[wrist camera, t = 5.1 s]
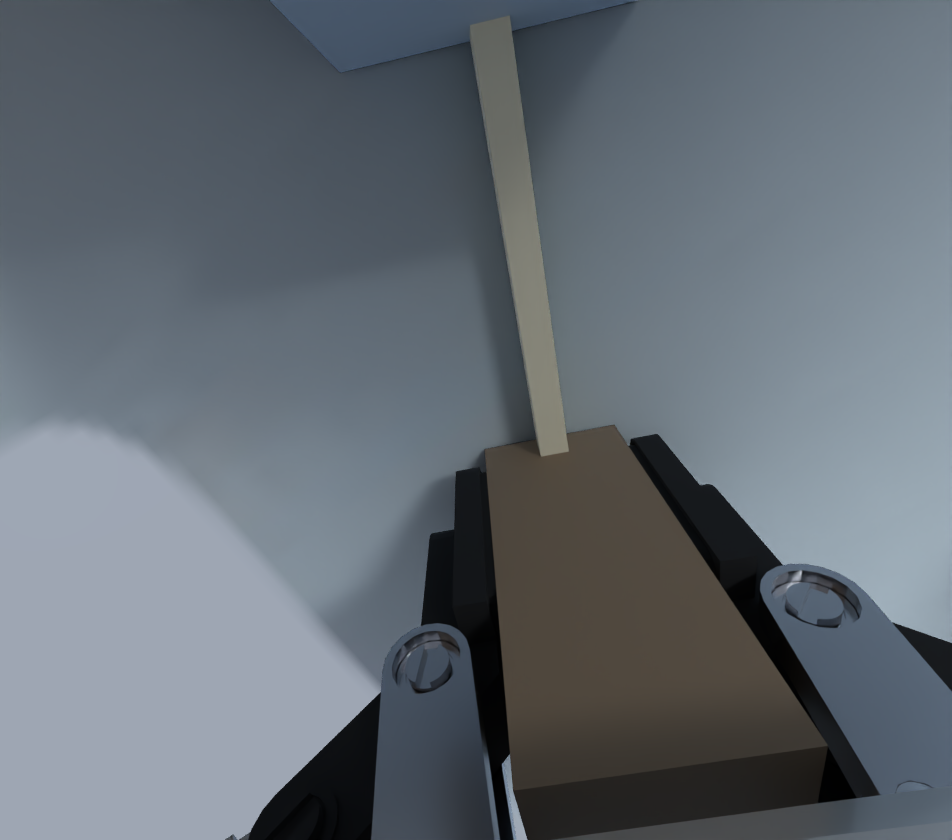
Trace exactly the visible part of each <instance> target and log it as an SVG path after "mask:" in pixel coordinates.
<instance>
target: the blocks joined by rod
mask: <svg viewBox="0 0 952 840" xmlns="http://www.w3.org/2000/svg"><path fill="white" fill-rule="evenodd" d="M270 1H271V3H272V4H273V5H274V6H275V7H276V8H277V9H278V10H279V11H280V12H281V13H282V14H283V15H284V16H285V17H286V18H287V19H288V20H289V21H290V22H291V23H292V24H293V25H294V26H295V27H296V28H297V29H298V30H299V31H300V32H301V33H302V34H303V35H304V36H305V37H306V38H307V39H308V40H309V41H310V42H311V43H312V44H313V45H314V46H315V48H316V49H317V50H318V51H319V52H320V53H321V54H322V55H323V56H324V57H325V58H326V59H327V60H328V61H329V62H330V63H331V64H332V65H333V66H334V67H335V68H336V69H337V70H338V71H339V72H340V73H342V72H346V71H350V70H354V69H358V68H362V67H366V66H370V65H374V64H379V63H383V62H387V61H391V60H395V59H399V58H403V57H407V56H411V55H415V54H420V53H424V52H428V51H432V50H436V49H440V48H444V47H448V46H452V45H456V44H461V43H465V42H469V41H470V43H471V49H472V55H473V61H474V67H475V73H476V79H477V85H478V91H479V97H480V103H481V109H482V115H483V121H484V127H485V133H486V139H487V145H488V151H489V157H490V163H491V169H492V175H493V181H494V187H495V193H496V199H497V205H498V211H499V217H500V223H501V230H502V236H503V242H504V248H505V254H506V260H507V266H508V272H509V278H510V284H511V290H512V296H513V302H514V308H515V314H516V320H517V326H518V332H519V338H520V344H521V350H522V356H523V362H524V368H525V374H526V380H527V386H528V392H529V398H530V404H531V410H532V416H533V422H534V428H535V434H536V440H531V441H525V442H520V443H515V444H510V445H504V446H499V447H494V448H488V449H485V460H486V472H487V484H488V495H489V507H490V519H491V531H492V543H493V555H494V567H495V579H496V591H497V603H498V615H499V627H500V639H501V651H502V663H503V675H504V687H505V699H506V711H507V723H508V735H509V747H510V759H511V771H512V783H513V792H514V795H515V799H516V802H517V805H518V809H519V812H520V816H521V819H522V822H523V826H524V829H525V833H526V836H527V839H528V840H554V839H561V838H568V837H575V836H582V835H589V834H596V833H604V832H611V831H618V830H626V829H633V828H640V827H648V826H655V825H662V824H669V823H677V822H684V821H691V820H699V819H706V818H713V817H721V816H728V815H736V814H743V813H751V812H758V811H765V810H773V809H780V808H788V807H795V806H802V805H810V804H817V803H818V798H819V793H820V787H821V782H822V776H823V771H824V766H825V760H826V755H827V749H828V745H827V743H826V742H825V740H824V739H823V737H822V736H821V734H820V733H819V731H818V730H817V728H816V727H815V725H814V724H813V722H812V721H811V719H810V718H809V716H808V715H807V713H806V712H805V710H804V709H803V707H802V706H801V704H800V703H799V701H798V700H797V698H796V697H795V695H794V694H793V692H792V691H791V689H790V688H789V686H788V685H787V683H786V682H785V680H784V679H783V677H782V676H781V674H780V673H779V671H778V670H777V668H776V667H775V665H774V664H773V662H772V661H771V659H770V658H769V656H768V655H767V653H766V652H765V650H764V649H763V647H762V646H761V644H760V643H759V641H758V640H757V638H756V637H755V635H754V634H753V632H752V631H751V629H750V628H749V626H748V625H747V623H746V622H745V620H744V619H743V617H742V616H741V614H740V613H739V611H738V610H737V608H736V607H735V605H734V604H733V602H732V601H731V599H730V598H729V596H728V595H727V593H726V592H725V590H724V589H723V587H722V586H721V584H720V583H719V581H718V580H717V578H716V577H715V575H714V574H713V572H712V571H711V569H710V568H709V566H708V565H707V563H706V562H705V560H704V559H703V557H702V556H701V554H700V553H699V551H698V550H697V548H696V547H695V545H694V544H693V542H692V541H691V539H690V538H689V536H688V535H687V533H686V532H685V530H684V529H683V527H682V526H681V524H680V523H679V521H678V520H677V518H676V517H675V515H674V514H673V512H672V511H671V509H670V508H669V506H668V505H667V503H666V502H665V500H664V499H663V497H662V496H661V494H660V493H659V491H658V490H657V488H656V487H655V485H654V484H653V482H652V481H651V479H650V478H649V476H648V475H647V473H646V472H645V470H644V469H643V467H642V466H641V464H640V463H639V461H638V460H637V458H636V457H635V455H634V454H633V452H632V451H631V449H630V448H629V446H628V445H627V443H626V442H625V440H624V439H623V437H622V436H621V434H620V433H619V431H618V430H617V428H616V427H615V425H610V426H605V427H600V428H594V429H589V430H584V431H578V432H573V433H568V434H566V427H565V420H564V412H563V405H562V397H561V390H560V383H559V375H558V368H557V361H556V353H555V346H554V338H553V331H552V324H551V316H550V309H549V301H548V294H547V287H546V279H545V272H544V265H543V257H542V250H541V242H540V235H539V228H538V220H537V213H536V205H535V198H534V191H533V183H532V176H531V169H530V161H529V154H528V146H527V139H526V132H525V124H524V117H523V109H522V102H521V95H520V87H519V80H518V73H517V65H516V58H515V50H514V43H513V36H512V31H514V30H518V29H522V28H526V27H530V26H534V25H538V24H543V23H547V22H551V21H555V20H559V19H563V18H567V17H571V16H575V15H579V14H583V13H588V12H592V11H596V10H600V9H604V8H608V7H612V6H616V5H620V4H624V3H629V2H633V1H637V0H270Z"/></svg>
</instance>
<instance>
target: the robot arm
mask: <svg viewBox="0 0 952 840" xmlns="http://www.w3.org/2000/svg"><path fill="white" fill-rule="evenodd" d="M629 448H630V449H631V451H632V452H633V454H634V455H635V457H636V458H637V460H638V461H639V463H640V464H641V466H642V467H643V469H644V470H645V472H646V473H647V475H648V476H649V478H650V479H651V481H652V482H653V484H654V485H655V487H656V488H657V490H658V491H659V493H660V494H661V496H662V497H663V499H664V500H665V502H666V503H667V505H668V506H669V508H670V509H671V511H672V512H673V514H674V515H675V517H676V518H677V520H678V521H679V523H680V524H681V526H682V527H683V529H684V530H685V532H686V533H687V535H688V536H689V538H690V539H691V541H692V542H693V544H694V545H695V547H696V548H697V550H698V551H699V553H700V554H701V556H702V557H703V559H704V560H705V562H706V563H707V565H708V566H709V568H710V569H711V571H712V572H713V574H714V575H715V577H716V578H717V580H718V581H719V583H720V584H721V586H722V587H723V589H724V590H725V592H726V593H727V595H728V596H729V598H730V599H731V601H732V602H733V604H734V605H735V607H736V608H737V610H738V611H739V613H740V614H741V616H742V617H743V619H744V620H745V622H746V623H747V625H748V626H749V628H750V629H751V631H752V632H753V634H754V635H755V637H756V638H757V640H758V641H759V643H760V644H761V646H762V647H763V649H764V650H765V652H766V653H767V655H768V656H769V658H770V659H771V661H772V662H773V664H774V665H775V667H776V668H777V670H778V671H779V673H780V674H781V676H782V677H783V679H784V680H785V682H786V683H787V685H788V686H789V688H790V689H791V691H792V692H793V694H794V695H795V697H796V698H797V700H798V701H799V703H800V704H801V706H802V707H803V709H804V710H805V712H806V713H807V715H808V716H809V718H810V719H811V721H812V722H813V724H814V725H815V727H816V728H817V730H818V731H819V733H820V734H821V736H822V737H823V739H824V740H825V742H826V743H827V745H828V749H827V755H826V760H825V766H824V771H823V776H822V782H821V787H820V793H819V798H818V803H817V804H810V805H802V806H795V807H788V808H780V809H773V810H765V811H758V812H751V813H743V814H736V815H728V816H721V817H713V818H706V819H699V820H691V821H684V822H677V823H669V824H662V825H655V826H648V827H640V828H633V829H626V830H618V831H611V832H604V833H596V834H589V835H582V836H575V837H568V838H561V839H554V840H952V643H950V642H947V641H944V640H941V639H938V638H935V637H932V636H930V635H927V634H924V633H921V632H918V631H915V630H912V629H910V628H907V627H904V626H901V625H898V624H895V623H892V622H891V621H890V620H889V618H888V617H887V616H886V615H885V614H884V613H883V612H882V610H881V609H880V608H879V607H878V606H877V605H876V603H875V602H874V601H873V600H872V599H871V598H870V597H869V595H868V594H867V593H866V592H865V591H864V590H863V589H861V588H860V587H859V586H858V585H857V584H856V583H855V582H853V581H851V580H850V579H848V578H846V577H845V576H843V575H841V574H839V573H837V572H834V571H831V570H829V569H826V568H823V567H819V566H814V565H808V564H787V565H782V564H781V562H780V561H779V560H778V559H777V558H776V557H775V556H774V554H773V553H772V552H771V551H770V550H769V549H768V547H767V546H766V545H765V544H764V543H763V542H762V541H761V539H760V538H759V537H758V536H757V535H756V534H755V533H754V531H753V530H752V529H751V528H750V527H749V526H748V524H747V523H746V522H745V521H744V520H743V519H742V518H741V516H740V515H739V514H738V513H737V512H736V511H735V509H734V508H733V507H732V506H731V505H730V504H729V503H728V501H727V500H726V499H725V498H724V497H723V496H722V495H721V493H720V492H719V491H718V490H717V489H716V488H715V487H714V486H713V485H710V484H706V485H699V484H698V482H697V481H696V480H695V479H694V478H693V476H692V475H691V474H690V473H689V471H688V470H687V469H686V468H685V467H684V465H683V464H682V463H681V462H680V461H679V459H678V458H677V457H676V456H675V454H674V453H673V452H672V451H671V450H670V448H669V447H668V446H667V445H666V443H665V442H664V441H663V440H662V439H661V437H660V436H659V435H658V434H654V435H649V436H643V437H638V438H633V439H631V441H630V446H629ZM509 754H510V747H509V735H508V723H507V711H506V699H505V687H504V675H503V663H502V651H501V639H500V627H499V615H498V603H497V591H496V579H495V567H494V555H493V543H492V531H491V519H490V507H489V495H488V484H487V472H485V473H481V470H480V467H477V468H472V469H467V470H461V471H457V472H456V484H455V521H454V530H449V531H443V532H438V533H432V534H431V535H430V540H429V550H428V561H427V571H426V581H425V591H424V601H423V612H422V622H421V626H420V627H418V628H415V629H413V630H411V631H410V632H408V633H407V634H405V635H404V636H402V637H401V638H400V639H399V640H398V641H397V642H396V643H395V644H394V645H393V646H392V648H391V649H390V651H389V653H388V655H387V657H386V658H385V662H384V666H383V671H382V684H381V693H380V694H378V695H377V696H376V697H375V698H374V699H373V700H372V701H371V702H370V703H369V704H368V705H367V706H366V707H365V708H364V709H363V710H362V711H361V712H360V713H359V714H358V715H357V716H356V717H355V718H354V719H353V720H352V721H351V722H350V723H349V724H348V725H347V726H346V727H345V728H344V729H343V730H342V731H341V732H340V733H338V734H337V736H335V738H333V739H332V740H331V741H330V742H329V743H328V744H327V745H326V746H325V747H324V748H323V749H322V750H321V751H320V752H319V753H318V754H317V755H316V756H315V757H314V758H313V759H312V760H311V761H310V762H309V763H308V764H307V765H306V766H305V767H304V768H303V769H302V770H301V771H299V772H298V773H297V774H296V775H295V776H294V777H293V778H292V779H291V780H290V781H289V782H288V783H287V784H286V785H285V786H284V787H283V788H282V789H281V790H280V791H279V792H278V793H277V794H276V795H275V796H274V797H273V798H272V800H271V801H270V802H269V803H268V804H267V806H266V807H265V808H264V809H263V810H262V812H261V814H260V816H259V817H258V819H257V821H256V822H255V824H254V826H253V828H252V830H251V832H250V833H249V834H247V835H245V836H244V837H242V838H241V839H239V840H517V839H516V833H515V827H514V821H513V815H512V809H511V803H510V797H509V791H508V784H507V778H506V772H505V766H504V763H503V762H504V761H505V759H506V758H507V757H508V755H509ZM225 840H237V839H236V837H235V836H234V835H231V836H230V837H228V838H227V839H225Z"/></svg>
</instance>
